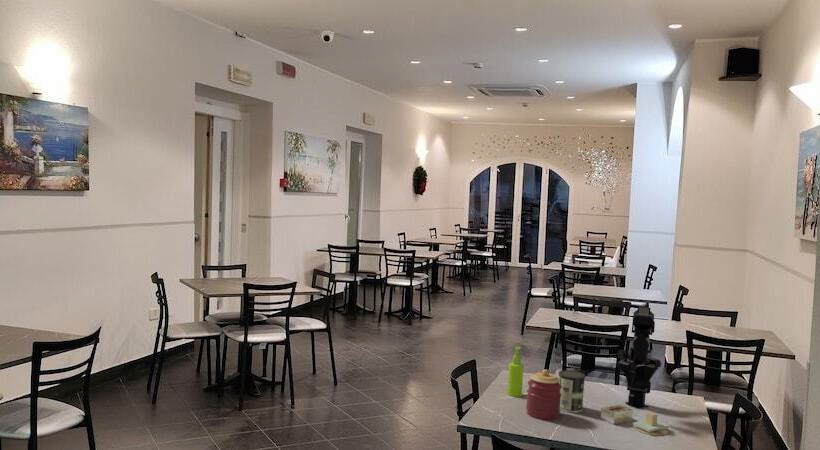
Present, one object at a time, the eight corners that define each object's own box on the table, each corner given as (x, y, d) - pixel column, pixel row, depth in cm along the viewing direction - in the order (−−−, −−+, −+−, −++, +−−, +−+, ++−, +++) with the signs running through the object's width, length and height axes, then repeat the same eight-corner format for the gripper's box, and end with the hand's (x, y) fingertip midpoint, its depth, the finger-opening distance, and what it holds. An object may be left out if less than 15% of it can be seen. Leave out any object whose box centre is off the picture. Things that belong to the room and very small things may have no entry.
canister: (562, 412, 251) (566, 368, 250) (555, 422, 239) (559, 376, 238) (530, 406, 256) (533, 362, 255) (521, 415, 245) (524, 370, 244)
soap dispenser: (522, 392, 273) (526, 346, 271) (520, 397, 266) (523, 350, 265) (509, 390, 274) (512, 345, 273) (506, 395, 268) (509, 348, 267)
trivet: (648, 421, 246) (648, 420, 246) (675, 432, 236) (675, 431, 236) (626, 425, 240) (626, 424, 240) (653, 437, 230) (653, 436, 230)
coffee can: (581, 405, 260) (584, 371, 259) (583, 414, 250) (585, 379, 249) (555, 402, 262) (558, 368, 261) (556, 411, 252) (558, 376, 251)
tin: (618, 415, 251) (619, 404, 251) (631, 421, 245) (632, 409, 245) (600, 418, 246) (601, 407, 246) (613, 424, 240) (614, 413, 240)
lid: (652, 422, 244) (653, 408, 243) (669, 429, 237) (670, 415, 237) (632, 426, 238) (633, 412, 238) (649, 434, 232) (650, 419, 231)
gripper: (640, 339, 262) (637, 377, 263) (608, 343, 253) (605, 381, 254) (663, 346, 253) (660, 385, 254) (630, 350, 243) (627, 390, 244)
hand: (637, 385), depth 252 cm, fingers open, 9 cm apart
